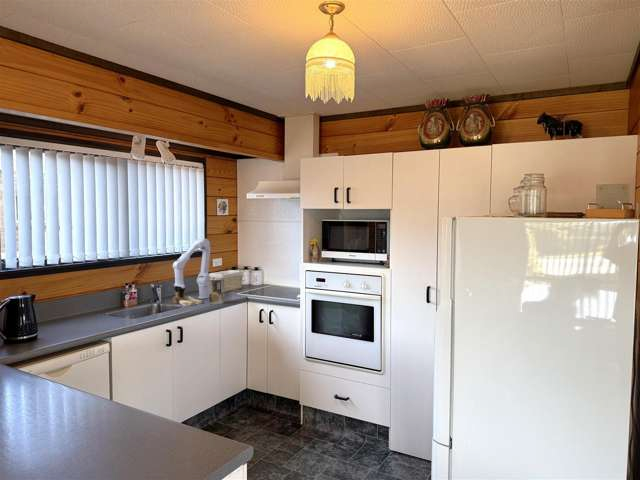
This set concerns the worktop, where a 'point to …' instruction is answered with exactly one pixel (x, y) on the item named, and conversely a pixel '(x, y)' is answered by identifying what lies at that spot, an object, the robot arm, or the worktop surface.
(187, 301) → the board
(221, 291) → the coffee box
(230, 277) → the storage basket
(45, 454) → the worktop surface
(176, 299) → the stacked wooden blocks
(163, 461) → the worktop surface
